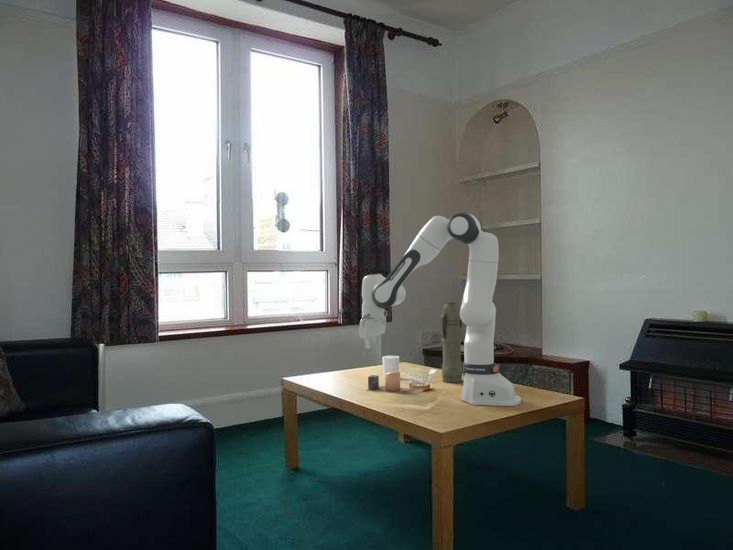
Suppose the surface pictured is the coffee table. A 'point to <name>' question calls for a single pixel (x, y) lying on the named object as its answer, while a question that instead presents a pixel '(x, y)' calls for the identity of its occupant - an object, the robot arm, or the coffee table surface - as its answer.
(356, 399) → the coffee table surface
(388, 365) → the white cup
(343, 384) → the coffee table surface
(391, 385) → the terracotta upright block
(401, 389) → the walnut strip
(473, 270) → the robot arm
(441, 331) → the thermos
